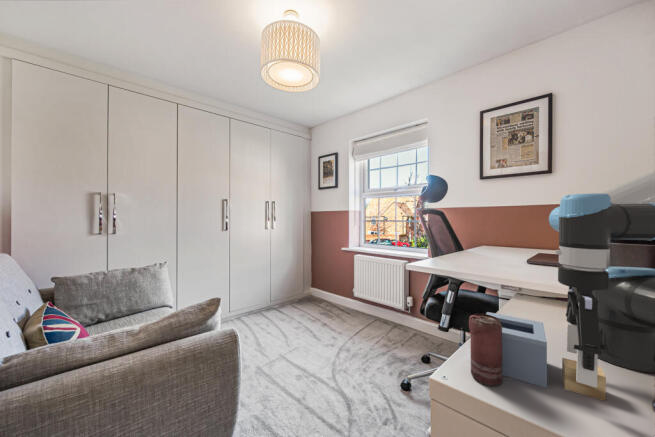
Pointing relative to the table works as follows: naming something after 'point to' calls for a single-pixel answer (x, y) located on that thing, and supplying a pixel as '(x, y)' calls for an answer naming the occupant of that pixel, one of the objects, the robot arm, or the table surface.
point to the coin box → (523, 349)
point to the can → (486, 349)
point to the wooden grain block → (571, 384)
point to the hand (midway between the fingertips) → (579, 367)
